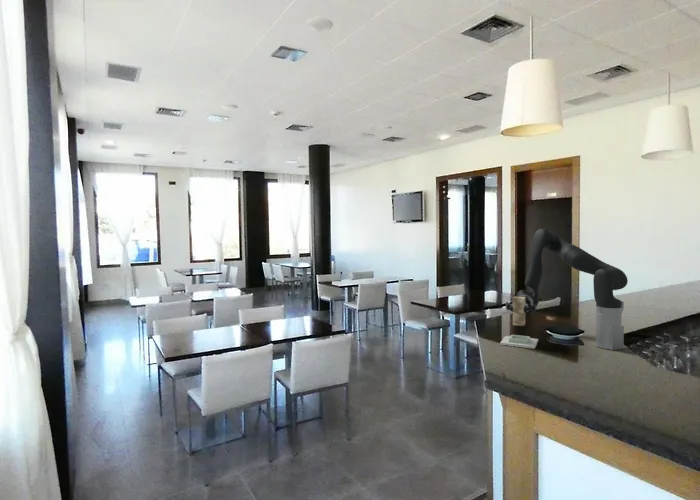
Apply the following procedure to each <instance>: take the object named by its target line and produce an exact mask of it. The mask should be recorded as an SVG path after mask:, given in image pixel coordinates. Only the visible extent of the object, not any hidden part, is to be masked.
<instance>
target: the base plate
mask: <svg viewBox="0 0 700 500" xmlns="http://www.w3.org/2000/svg"><path fill="white" fill-rule="evenodd" d="M538 343H539V339H538V338H533V337H531V336H528V335H519V334H510V335H505V336H504V337H503V338H502V339H501V341H500V343H499V345H500V346H505V345H508V347H514V346H515V348H523V349H524V348H525V349H526V348H527V349H534V350H535V349H536V348H537V346H538Z"/></svg>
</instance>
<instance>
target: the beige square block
mask: <svg viewBox="0 0 700 500" xmlns="http://www.w3.org/2000/svg"><path fill="white" fill-rule="evenodd" d="M512 303H513V312H512V326H520V327H525V325H526V313H524V307H525V297H517V296H513V297H512Z"/></svg>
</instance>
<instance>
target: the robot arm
mask: <svg viewBox="0 0 700 500" xmlns="http://www.w3.org/2000/svg"><path fill="white" fill-rule="evenodd" d="M531 244H532V246H531V251H530V260H529V267H528V270H527V272H526V277H525V281H524V285H525V286H526V287H529V288H530V289H531V290H532V291H533V292H531V291H528V290H525V289H520V290H519V291H518V292H517V294H516V297H525V307H524V313H525V314H526V313H528V312H530V313H532V312H535V311H538V305H539V303H540V286H541V282H542V278H543V274H544V267H543V257H542V256H543V250H547V251H549V252H552V253H555V254H556V255H558V256H559V257H560V259H561V260H562V261H563V262H564V263H565V264H566V265H568V266H569V267H570V268H573V269H575V270H577V271H579V272H583V273H586V274H589V275H592V276H593V297H594V301H595V346H596V347H597V348H600V349H605V350H611V351H615V350H616V351H617V350H624V342H625V340H624V338H625V334H624V333H625V332H624V331H625V329H624V326H623V325H622V322H623V321H622V319H623V318H622V317H623V315H622V314H623V312H622V302H623V301H622V300H620V299H619V298H616V297H615V296H614V291H619V290H622V289H624V288H625V287H626V286H627V285H628V276H627V275H626V273H625V272H624V271H623V270H621V269H620V268H618V267H616V266H613V265H611V264H609V263H606V262H604V261H602V260H601V259H599V258H598V257H596V256H594V255H592V254H590V253H589V252H587V251H586V250H584V249H582V248H581V247H579V246H576V245H574V244H571V243H569V242H568V241H566V240H564V239H563V238H562V237H560V236H559V234H557V233H556V232H554V231H550V230H548V229H545V228H539V229H538V230H536V232H535V233H534V235H533V237H532V243H531ZM621 301H622V302H621ZM505 309H506V310H507V311H510V312H512V313H513V302H512V303H510V302H508V301H506V302H505Z"/></svg>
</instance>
